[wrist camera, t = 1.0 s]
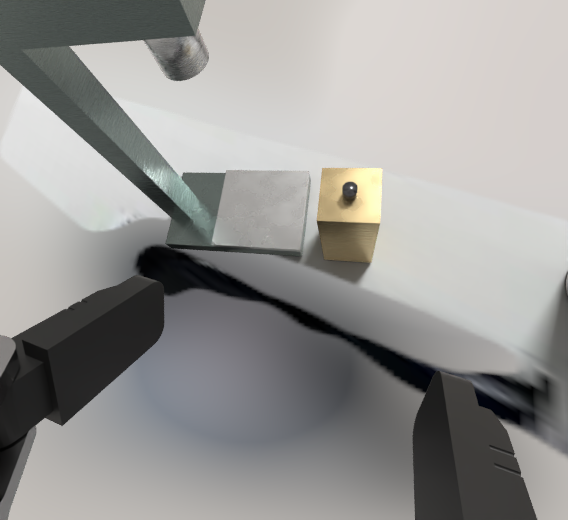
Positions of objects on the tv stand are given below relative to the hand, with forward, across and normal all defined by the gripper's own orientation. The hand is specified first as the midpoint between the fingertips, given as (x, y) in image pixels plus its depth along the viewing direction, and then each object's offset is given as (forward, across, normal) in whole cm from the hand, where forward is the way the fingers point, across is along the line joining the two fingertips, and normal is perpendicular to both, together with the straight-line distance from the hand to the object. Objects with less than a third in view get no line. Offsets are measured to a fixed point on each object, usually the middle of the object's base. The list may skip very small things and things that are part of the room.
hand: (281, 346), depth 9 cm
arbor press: (+30, +14, +5) cm, 33 cm away
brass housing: (+28, +1, +6) cm, 29 cm away
